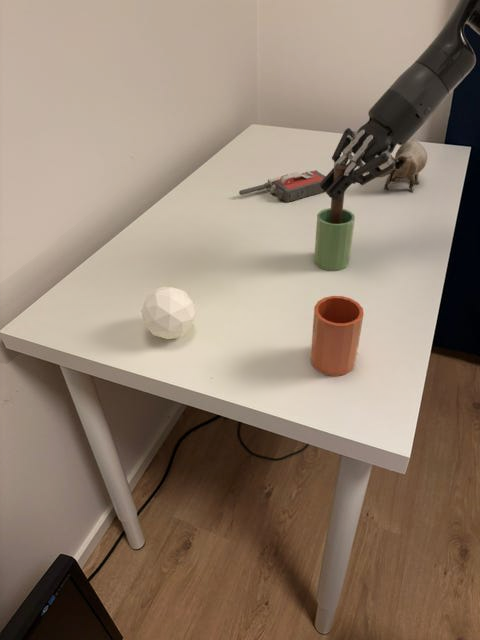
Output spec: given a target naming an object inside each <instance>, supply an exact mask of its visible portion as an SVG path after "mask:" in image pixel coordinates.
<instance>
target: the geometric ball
mask: <svg viewBox="0 0 480 640" xmlns="http://www.w3.org/2000/svg"><path fill="white" fill-rule="evenodd" d="M140 312H141V315H142V320H143V322H144V325H145V326H146V327H147V329H148V330H149V332H151V334H152V336H155V337H159V338H163V339H166V340H173V339H179V338H182V336H183V335H184V334H186V333H187V332H188V331H189V330H191V329H192V327H193V324H194V321H195V318H196V314H197V313H196V309H195V305H194V301H192V299H191V298H190V296H189V295H188V294H187V292H186V291H185V290H184V289H180V288H175V287H172V286H166V287H157V288H156V289H154V290H153V291H152V292H151V293H149V294H148V295H147V296H146V297H145V300H144V303H143V306H142V308H141V311H140Z"/></svg>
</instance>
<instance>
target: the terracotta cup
mask: <svg viewBox="0 0 480 640" xmlns="http://www.w3.org/2000/svg"><path fill="white" fill-rule="evenodd" d="M364 314H365V313H364V308H363V307H362V306H361V304H360V303H359V302H357V300H354V299H352V298H350V297H346V296H343V295H331V296H325V297H323V298H321V299H320V300H317V302H316V304H315V305H314V307H313V318H312V319H313V320H312V333H311V343H310V364H311V365H312V367H313V368H314V369H315V370H317V372H319V373H321V374H323V375H327V376H330V377H331V376H332V377H341V376H344V375H346V374H347V375H348V373H350V372H351V371H352V370H353V369H354V368H355V366H356V361H357V357H358V350H359V345H360V339H361V333H362V326H363V320H364Z"/></svg>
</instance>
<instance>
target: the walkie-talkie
mask: <svg viewBox="0 0 480 640" xmlns="http://www.w3.org/2000/svg"><path fill="white" fill-rule="evenodd" d="M326 176H327V175H324V174H322V173H321V172H319V171H318V170H310V171H309V170H306V171H305V172H301V173H299V172H298V171H296V172H291V173H289V174H284V175H282V176H277V177H273V178H268V179H267V182H265V183H264V184H260V185H256V186H253V187H248V188H245V189H241V190H239V191H238V194H239V195H240V196H243V195H247V194H251V193H253V192H254V193H255V192H259V191H262V190H268V189H269V192H270V194H271V193H272V194H273V195H275V196H277V199H278V200H279V199H280V200H283V202H285V203H290V202H293V201H296V200H300V199H303V198H307V197H310V196H311V197H312V196H313V195H317V194H321V193H324V192H325V191H324V190H323V189H321V188H320V186H319V185H320V183H321V182H322V180H323V179H324V178H325V177H326ZM325 193H326V192H325Z"/></svg>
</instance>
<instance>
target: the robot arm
mask: <svg viewBox="0 0 480 640" xmlns="http://www.w3.org/2000/svg"><path fill="white" fill-rule="evenodd" d="M466 24H467V25H468V26H469V27H470V28H471V29H472V30H473V31H474V32H476V33H477V34H478V35H479V36H480V0H457V2H456V4H455V6H454V8H453V10H452V11H451V14H450V15H449V17H448V19H447V20H446V22H445V24H444V25H443V27H442V29H440V31H439V33H437V35H436V37H435V38H434V39H433V40H432V42H431V43H430V44H429V45H428V46H427V48H426V49H425V50H424V51H423V52H422V53H421V54H420V56H418V58H417V59H415V61H414V62H413V63H412V64H411V65H410V66H409V67H408V68H407V69H405V70H404V71H403V73H401V74H400V75H399V76H398V78H396V80H395V81H393V83H392V84H391V85H390V86H389V88H388V89H387V90H386V91H385V92H384V93H383V94H382V95H381V96H380V98H378V100H377V101H376V102H375V103H374V105H372V106H371V108H369V110H368V113H367V115H368V117H369V119H368V121H367V122H365V124H363V125H361V126H360V127H359V129H357V130H354V131H353V130H352V129H351V128H350V127H347V128H345V130H344V131H343V133H342V136H341V138H340V139H339V141H338V144H337V146H336V148H335V150H334V152H333V154H332V155H331V160H332V161H333V167H332V169H331V170H330V171H329V172H328V173H327V175H325V176H326V177H325V178H324V179H323V180H322V182H321V183H320V185H319V186H320V188H321V189H323V190H324V191H325V194H326V195H327V196H328V197H329V198H330V199H333V200H336V199H337V198H338V197H340V196H341V195H342V193H344V191H345V192H346V191H347V190H348V189H349V188H350V187H351V185H352V184H353V185H355V184H359V185H360V186H364V185H366V184H368V183H370V182H371V181H373V180H375V179H376V178H379V177H378V176H380V175H382V174H384V173H385V172H387V171H389V170H391V169H392V168H393V167H394V166H395V163H394V162H393V161H392V159H391V155H392V153H394V151H395V148H396V146H397V145H398V146H401V145H404V144H405V143H406V142H407V141H410V140H411V138H412V137H413V136H414V135H415V134H416V133H417V132H418V131H419V130H420V128H422V126H424V124H425V123H426V122H427V121H428V120H429V119H430V118H431V117H432V116H433V114H434V113H436V111H437V110H438V109H439V108H440V106H441V105H442V104H443V102H444V101H445V100H446V98H448V96H449V95H450V94H451V93H452V92H453V91H454V90H455V89H456V88H457V87H458V85H460V83H462V82H463V81H464V79H465V78H466V77H467V76H468V75H469V74H470V73H471V72H472V70H473V69H474V67H475V66H476V63H477V58H476V54H475V51H474V50H473V48H472V46H471V44H470V43H469V41H468V40H467V38H466V35H465V26H466ZM338 164H343V165H346V166H347V169H346V170H345V171H344V173H343V174H344V175H342V174H341V175H340V176H339V177H338V178H337V179H336V180H335V181H334V182H333V177H334V166H335V165H338ZM344 194H345V193H344Z"/></svg>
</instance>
